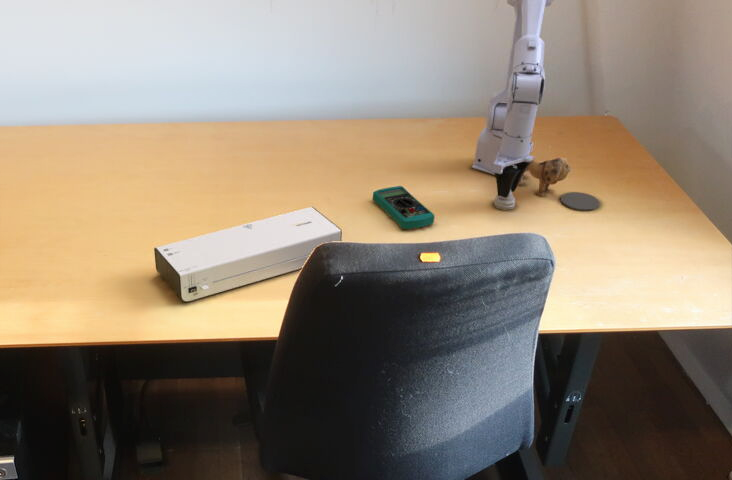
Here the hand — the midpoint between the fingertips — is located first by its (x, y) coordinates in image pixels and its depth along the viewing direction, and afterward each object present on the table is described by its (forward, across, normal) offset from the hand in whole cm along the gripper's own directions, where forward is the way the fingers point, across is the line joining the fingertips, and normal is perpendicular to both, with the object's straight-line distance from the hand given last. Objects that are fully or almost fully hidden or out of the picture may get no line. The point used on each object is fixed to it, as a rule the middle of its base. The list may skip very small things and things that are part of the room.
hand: (506, 193), depth 183 cm
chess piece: (+3, 0, 0) cm, 3 cm away
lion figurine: (+3, +13, -2) cm, 13 cm away
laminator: (+3, -54, +25) cm, 60 cm away
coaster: (+3, +12, -12) cm, 17 cm away
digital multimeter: (+3, -17, +15) cm, 23 cm away
